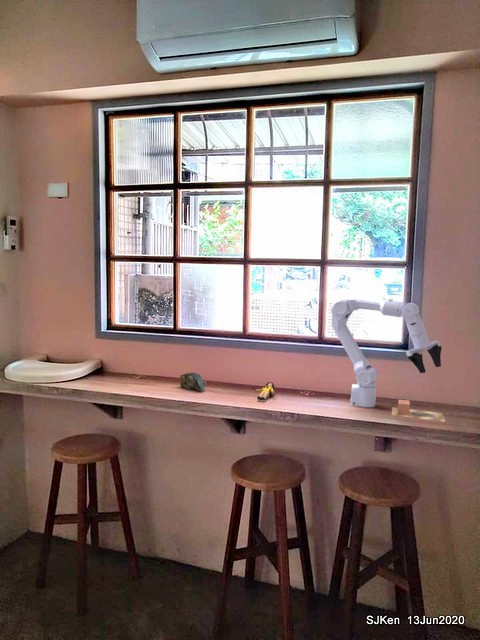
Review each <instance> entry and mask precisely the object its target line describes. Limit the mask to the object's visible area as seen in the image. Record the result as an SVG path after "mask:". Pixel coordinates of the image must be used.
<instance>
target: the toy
mask: <svg viewBox="0 0 480 640" xmlns="http://www.w3.org/2000/svg"><path fill="white" fill-rule="evenodd" d="M255 390H256V393H260V394H259V395H258V396H257V398H256V399H257V402H262V403H264V402H266V401H267V398H268V397H270V396H273V395H275V391H274V390H275V384H274V383H273V382H270V381H269V382H267V383H266V384H265V385H263V386H262V388H261V389H259V388H256V389H255Z"/></svg>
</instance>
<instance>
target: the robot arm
mask: <svg viewBox="0 0 480 640" xmlns="http://www.w3.org/2000/svg"><path fill="white" fill-rule="evenodd" d="M358 310H369V311H377V312H378V311H379V312H380V313H381V314H382V315H383V316H390V317H393V318H394V317H396V318H403V319H404V321H405V324H406V328H407V331H408V333H409V336H410V339H411V343H412V345H413V348H411V349H409V350H407V351H405V353H406V356H407V358H408V360H409V361H411V362H412V364H413V365H414V366H415V367H416V369H417V370H418V371H419V373H420V374H424V373H426V372H427V371H426V369H425V364H424V360H423V354H422V352H424V351H427V353H428V354H429V355H430V358H431V360H432V361H433V365H434V366H435V368H439V367H440V368H441V367H442V361H441V354H442V349H443V347H442V346H441V343H440V341H439V339H438V340H434V341H431V342H430V339H429V336H428V333H427V331H426V328H425V324H424V322H423V320H422V317H421V314H420V308H419V306H418V304H416V303H413V302H406V301H403V300H402V301H397V300H396V301H395V300H394V299H391V298H388V299H385V300H384V301H383V302H379V301H378V302H377V301H372V300H365V299H359V298H358V299H357V298H352V299H351V298H345V299H337V300H336V301H334V302H333V304H332V306H331V308H330V312H331V327H332V329H333V331H334V332H335V335H336V336H337V338H338V340H339V341H340V344H341V345H342V346H343V348H344V350H345V352H346V354H347V356H348V358H349V360H350V361H351V363H352V365H353V371H354V373H355V375H356V377H355V379H356V383H352V384H351V389H350V390H351V394H350V406H357V407H363V408H374V407H375V406H376V398H377V383H376V381H377V380H378V378H379V371H378V370H377V369H376V368H375V367H374V366H372V364H371V363H370V362H369V361H368V360H367V359H366V357H365V356H364V354H363V352H362V350H361V348H360V347H359V345H358V343H357V342H356V340H355V338H354V336H353V335H352V333H351V331H350V329H349V327H348V326H347V323H348V320H349V318H350V316H351V315H352V314H353V312H354V311H358Z"/></svg>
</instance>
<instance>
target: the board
mask: <svg viewBox="0 0 480 640" xmlns="http://www.w3.org/2000/svg"><path fill="white" fill-rule="evenodd" d="M391 416H395V417H403V418H412V419H419V420H429V421H437V422H444V423H445V422H446V420H445V416H444V413H443V412H436V411H435V412H434V411H428V410H420V409H419V410H418V409H410V410H409V415H402V414H398V407H393V406H392V408H391Z"/></svg>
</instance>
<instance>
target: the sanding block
mask: <svg viewBox="0 0 480 640" xmlns="http://www.w3.org/2000/svg"><path fill="white" fill-rule="evenodd" d="M410 403H411V401H410V400H408V399H407V400H406V399H398V402H397V408H398V414H402V415H409V410H410V407H411V404H410Z"/></svg>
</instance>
